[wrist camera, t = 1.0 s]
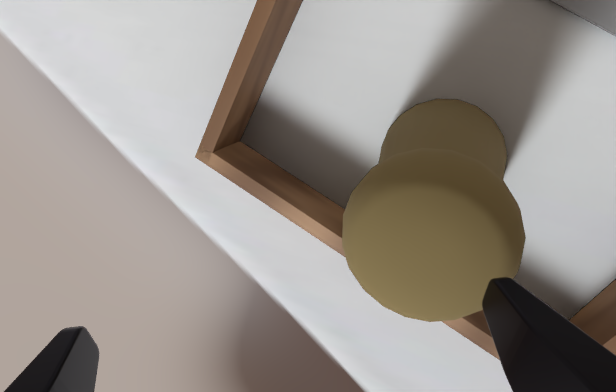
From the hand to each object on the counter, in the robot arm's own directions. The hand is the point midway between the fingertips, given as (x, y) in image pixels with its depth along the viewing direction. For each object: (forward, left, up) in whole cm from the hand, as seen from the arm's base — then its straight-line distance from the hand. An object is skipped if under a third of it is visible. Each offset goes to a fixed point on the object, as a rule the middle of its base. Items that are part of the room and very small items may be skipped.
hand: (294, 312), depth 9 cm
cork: (-2, -1, -14) cm, 14 cm away
